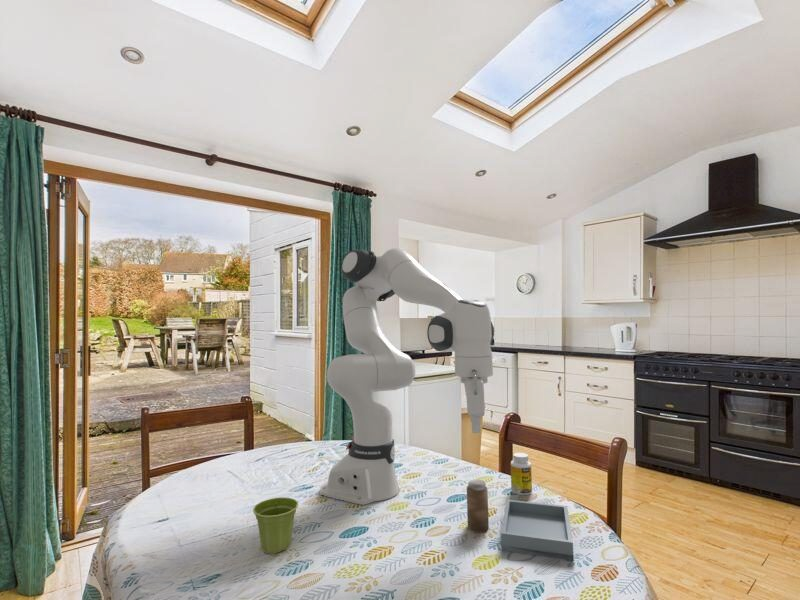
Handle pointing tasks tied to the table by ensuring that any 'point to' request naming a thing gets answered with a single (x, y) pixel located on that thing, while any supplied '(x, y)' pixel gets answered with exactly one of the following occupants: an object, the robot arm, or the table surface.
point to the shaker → (477, 506)
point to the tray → (537, 529)
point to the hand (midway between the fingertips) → (475, 427)
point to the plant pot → (275, 523)
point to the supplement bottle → (521, 474)
